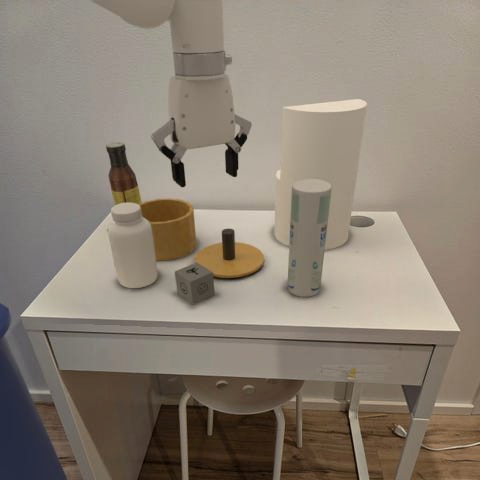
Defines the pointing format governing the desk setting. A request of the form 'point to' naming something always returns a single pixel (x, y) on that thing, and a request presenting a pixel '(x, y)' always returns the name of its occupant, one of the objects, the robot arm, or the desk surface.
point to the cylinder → (320, 161)
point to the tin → (170, 227)
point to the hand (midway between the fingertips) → (206, 179)
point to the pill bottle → (132, 246)
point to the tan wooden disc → (230, 257)
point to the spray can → (307, 235)
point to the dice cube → (194, 283)
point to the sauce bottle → (122, 176)
